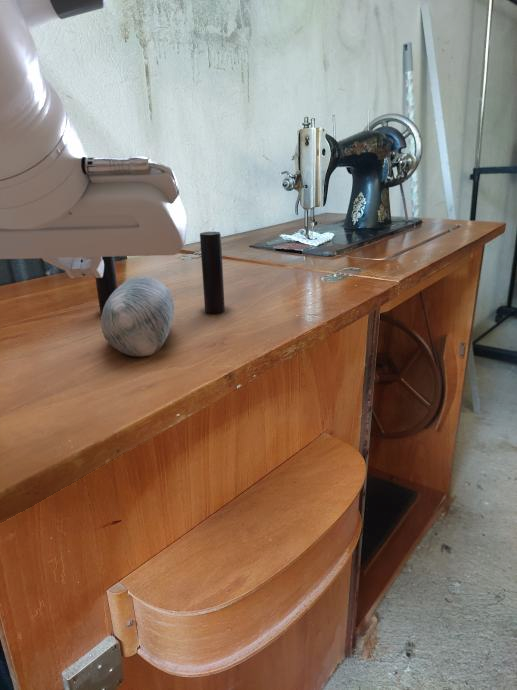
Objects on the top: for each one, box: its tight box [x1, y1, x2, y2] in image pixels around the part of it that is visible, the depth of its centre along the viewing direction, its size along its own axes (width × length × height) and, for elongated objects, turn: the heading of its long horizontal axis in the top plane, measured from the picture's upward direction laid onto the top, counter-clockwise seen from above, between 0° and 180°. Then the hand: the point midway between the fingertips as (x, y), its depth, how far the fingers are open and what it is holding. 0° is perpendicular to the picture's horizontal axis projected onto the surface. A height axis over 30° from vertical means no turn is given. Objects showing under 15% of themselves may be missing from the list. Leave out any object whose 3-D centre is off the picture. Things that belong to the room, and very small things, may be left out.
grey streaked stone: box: [100, 276, 175, 358], centre depth 65 cm, size 14×10×10 cm
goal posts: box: [94, 231, 226, 316], centre depth 77 cm, size 19×3×12 cm, turn 88°
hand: (88, 271), depth 48 cm, fingers closed
